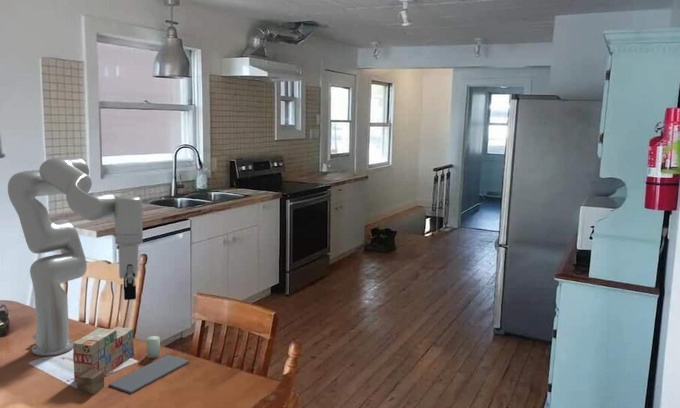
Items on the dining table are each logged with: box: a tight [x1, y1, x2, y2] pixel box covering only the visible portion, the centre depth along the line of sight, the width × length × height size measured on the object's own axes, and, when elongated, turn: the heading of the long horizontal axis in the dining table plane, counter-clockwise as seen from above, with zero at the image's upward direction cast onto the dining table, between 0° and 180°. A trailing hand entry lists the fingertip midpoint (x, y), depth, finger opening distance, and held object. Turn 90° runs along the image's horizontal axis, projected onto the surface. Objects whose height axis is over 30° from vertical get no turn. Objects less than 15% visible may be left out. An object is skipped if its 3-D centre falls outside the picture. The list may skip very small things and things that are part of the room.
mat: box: [108, 354, 190, 394], centre depth 168 cm, size 9×24×1 cm, turn 154°
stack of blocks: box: [72, 326, 135, 383], centre depth 171 cm, size 21×6×12 cm, turn 168°
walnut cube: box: [76, 369, 105, 396], centre depth 157 cm, size 5×5×5 cm
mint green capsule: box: [146, 335, 161, 359], centre depth 181 cm, size 4×4×6 cm
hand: (129, 294), depth 164 cm, fingers open, 9 cm apart
